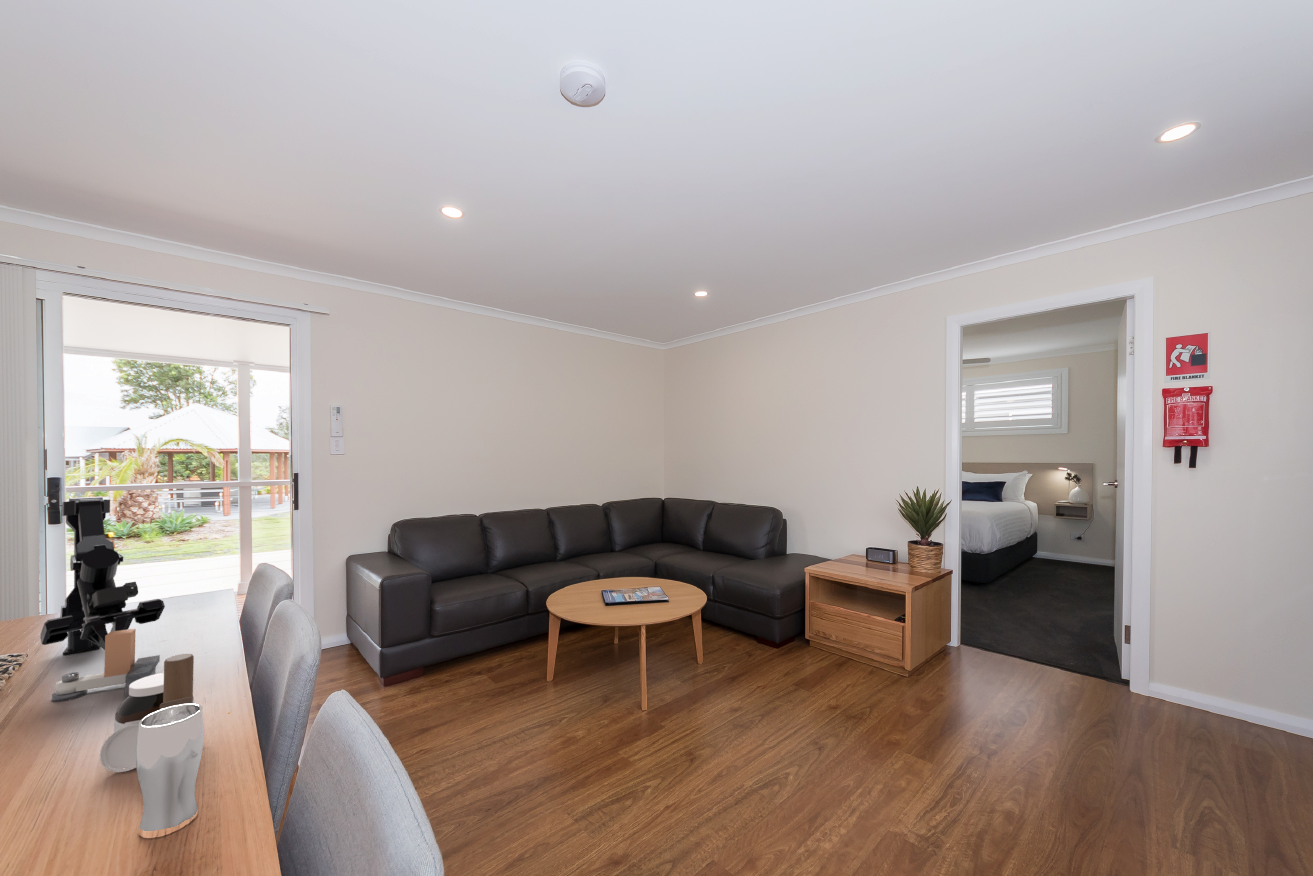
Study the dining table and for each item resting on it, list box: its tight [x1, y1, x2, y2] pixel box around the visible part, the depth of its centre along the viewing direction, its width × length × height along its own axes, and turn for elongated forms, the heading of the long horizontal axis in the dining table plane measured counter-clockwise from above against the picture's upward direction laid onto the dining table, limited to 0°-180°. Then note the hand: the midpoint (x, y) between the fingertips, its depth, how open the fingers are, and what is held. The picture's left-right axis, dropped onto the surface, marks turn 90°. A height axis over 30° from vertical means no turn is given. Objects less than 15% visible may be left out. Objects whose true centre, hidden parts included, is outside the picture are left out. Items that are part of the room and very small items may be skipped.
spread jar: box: [99, 672, 195, 773], centre depth 90 cm, size 12×11×12 cm
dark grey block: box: [124, 654, 161, 700], centre depth 114 cm, size 4×11×5 cm, turn 35°
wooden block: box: [160, 653, 195, 710], centre depth 83 cm, size 4×11×18 cm, turn 41°
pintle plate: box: [51, 672, 89, 703], centre depth 110 cm, size 5×5×4 cm
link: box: [55, 628, 157, 695], centre depth 113 cm, size 15×4×11 cm, turn 121°
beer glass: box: [135, 703, 205, 831], centre depth 73 cm, size 7×7×15 cm
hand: (114, 652), depth 115 cm, fingers closed
